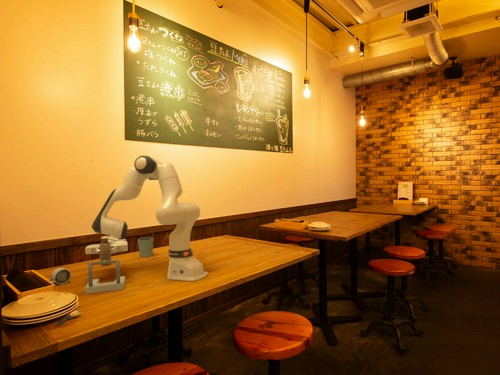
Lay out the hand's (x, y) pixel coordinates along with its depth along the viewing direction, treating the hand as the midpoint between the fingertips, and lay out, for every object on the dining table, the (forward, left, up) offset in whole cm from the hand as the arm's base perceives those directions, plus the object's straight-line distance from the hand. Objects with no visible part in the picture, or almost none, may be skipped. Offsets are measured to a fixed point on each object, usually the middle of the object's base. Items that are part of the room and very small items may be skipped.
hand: (105, 251), depth 156 cm
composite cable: (-22, +33, -17) cm, 43 cm away
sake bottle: (+1, -1, -7) cm, 7 cm away
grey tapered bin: (+27, -51, -17) cm, 60 cm away
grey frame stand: (-4, +3, -17) cm, 18 cm away
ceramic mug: (+24, +10, -17) cm, 31 cm away
